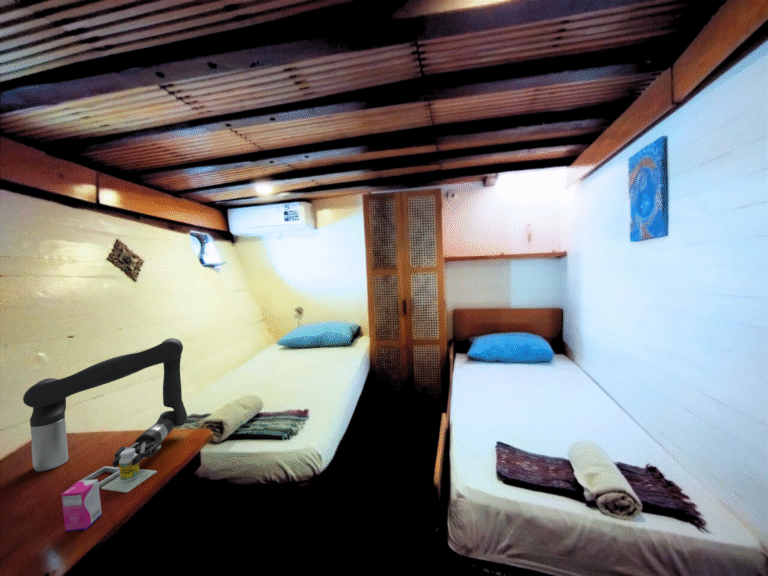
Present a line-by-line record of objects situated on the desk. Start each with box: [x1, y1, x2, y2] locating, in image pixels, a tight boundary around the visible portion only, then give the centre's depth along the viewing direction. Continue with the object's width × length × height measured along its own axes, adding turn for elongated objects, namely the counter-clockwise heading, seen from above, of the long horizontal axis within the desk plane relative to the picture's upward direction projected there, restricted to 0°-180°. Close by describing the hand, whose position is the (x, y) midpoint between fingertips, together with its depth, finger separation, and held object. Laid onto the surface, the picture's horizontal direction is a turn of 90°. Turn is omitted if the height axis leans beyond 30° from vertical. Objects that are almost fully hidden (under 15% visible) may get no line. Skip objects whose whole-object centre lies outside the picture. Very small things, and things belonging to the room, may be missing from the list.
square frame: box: [79, 465, 120, 489], centre depth 113 cm, size 9×9×2 cm
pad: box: [100, 468, 158, 494], centre depth 112 cm, size 11×11×1 cm
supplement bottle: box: [118, 448, 140, 481], centre depth 111 cm, size 5×5×10 cm
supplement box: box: [60, 478, 103, 533], centre depth 92 cm, size 6×6×12 cm
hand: (123, 463), depth 109 cm, fingers closed on supplement bottle, 5 cm apart
